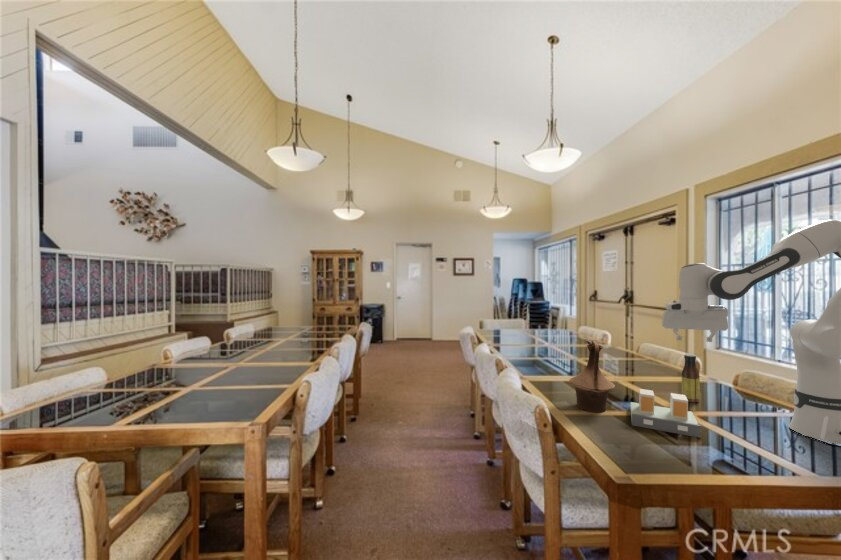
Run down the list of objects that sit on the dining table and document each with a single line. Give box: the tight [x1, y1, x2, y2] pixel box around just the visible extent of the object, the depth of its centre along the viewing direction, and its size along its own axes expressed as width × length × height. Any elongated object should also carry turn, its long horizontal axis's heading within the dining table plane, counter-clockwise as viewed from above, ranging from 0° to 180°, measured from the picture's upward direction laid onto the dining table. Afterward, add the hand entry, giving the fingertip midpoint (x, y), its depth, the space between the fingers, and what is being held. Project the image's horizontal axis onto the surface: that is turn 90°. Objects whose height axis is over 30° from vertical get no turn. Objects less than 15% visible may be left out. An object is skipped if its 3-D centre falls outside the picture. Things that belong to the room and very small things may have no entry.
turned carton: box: [669, 392, 689, 420], centre depth 131 cm, size 4×7×7 cm, turn 151°
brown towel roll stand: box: [568, 339, 616, 413], centre depth 146 cm, size 18×17×28 cm
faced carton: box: [638, 388, 655, 414], centre depth 136 cm, size 4×7×7 cm, turn 151°
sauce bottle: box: [681, 353, 701, 403], centre depth 154 cm, size 6×6×20 cm
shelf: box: [629, 401, 702, 439], centre depth 132 cm, size 20×17×4 cm
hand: (693, 340), depth 138 cm, fingers open, 8 cm apart
